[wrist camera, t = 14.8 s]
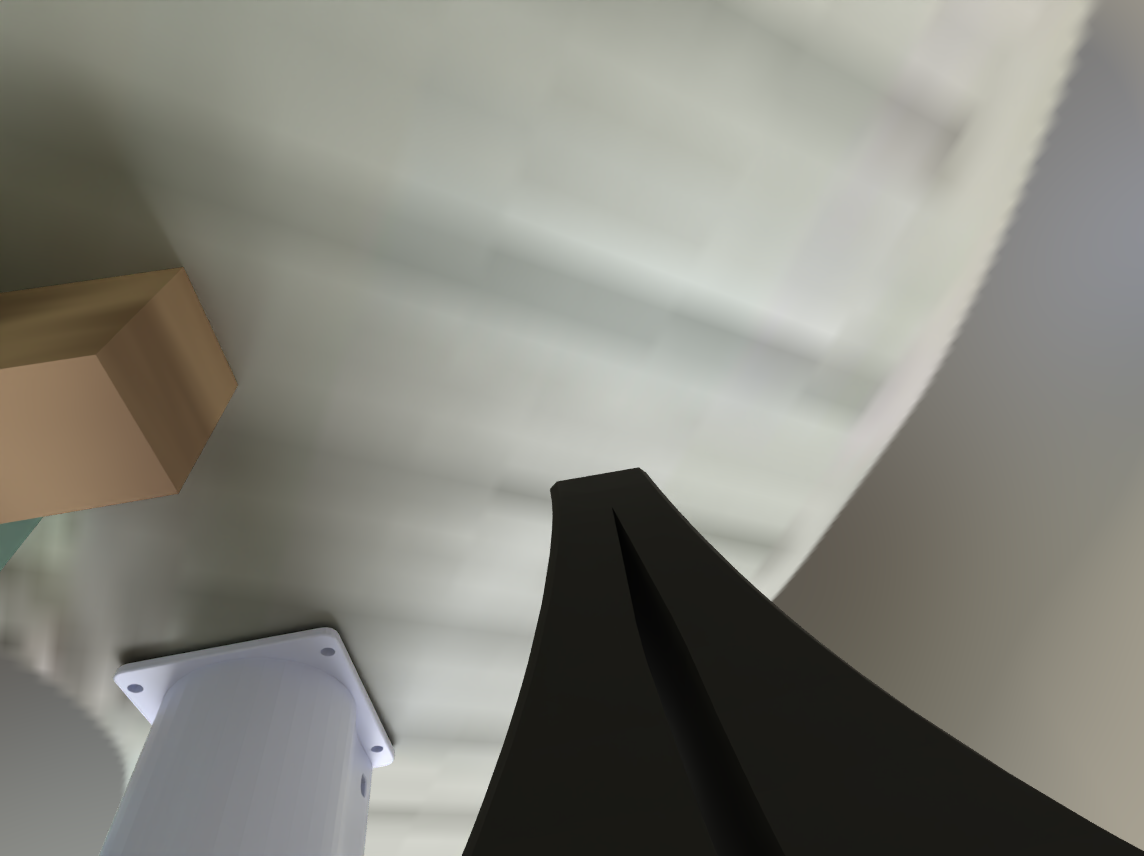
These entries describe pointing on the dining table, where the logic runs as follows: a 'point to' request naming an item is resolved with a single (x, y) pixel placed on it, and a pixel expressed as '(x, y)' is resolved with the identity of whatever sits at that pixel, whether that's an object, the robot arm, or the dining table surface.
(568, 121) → the dining table surface
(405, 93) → the dining table surface
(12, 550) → the pale green notched block
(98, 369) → the tall tan wooden block
